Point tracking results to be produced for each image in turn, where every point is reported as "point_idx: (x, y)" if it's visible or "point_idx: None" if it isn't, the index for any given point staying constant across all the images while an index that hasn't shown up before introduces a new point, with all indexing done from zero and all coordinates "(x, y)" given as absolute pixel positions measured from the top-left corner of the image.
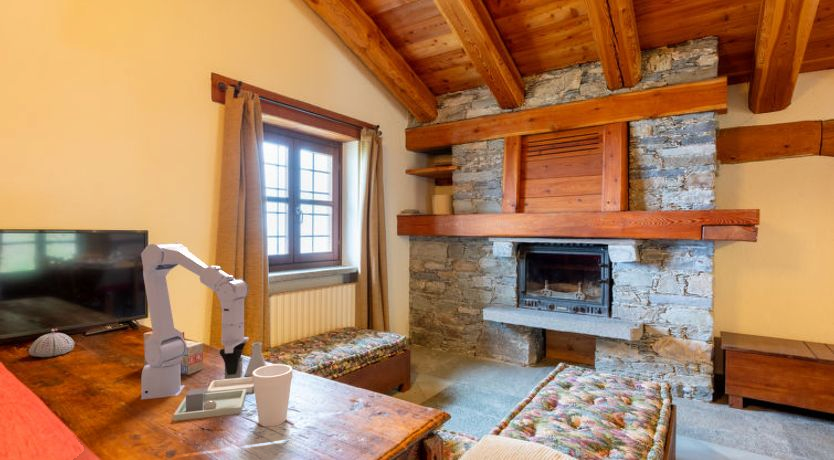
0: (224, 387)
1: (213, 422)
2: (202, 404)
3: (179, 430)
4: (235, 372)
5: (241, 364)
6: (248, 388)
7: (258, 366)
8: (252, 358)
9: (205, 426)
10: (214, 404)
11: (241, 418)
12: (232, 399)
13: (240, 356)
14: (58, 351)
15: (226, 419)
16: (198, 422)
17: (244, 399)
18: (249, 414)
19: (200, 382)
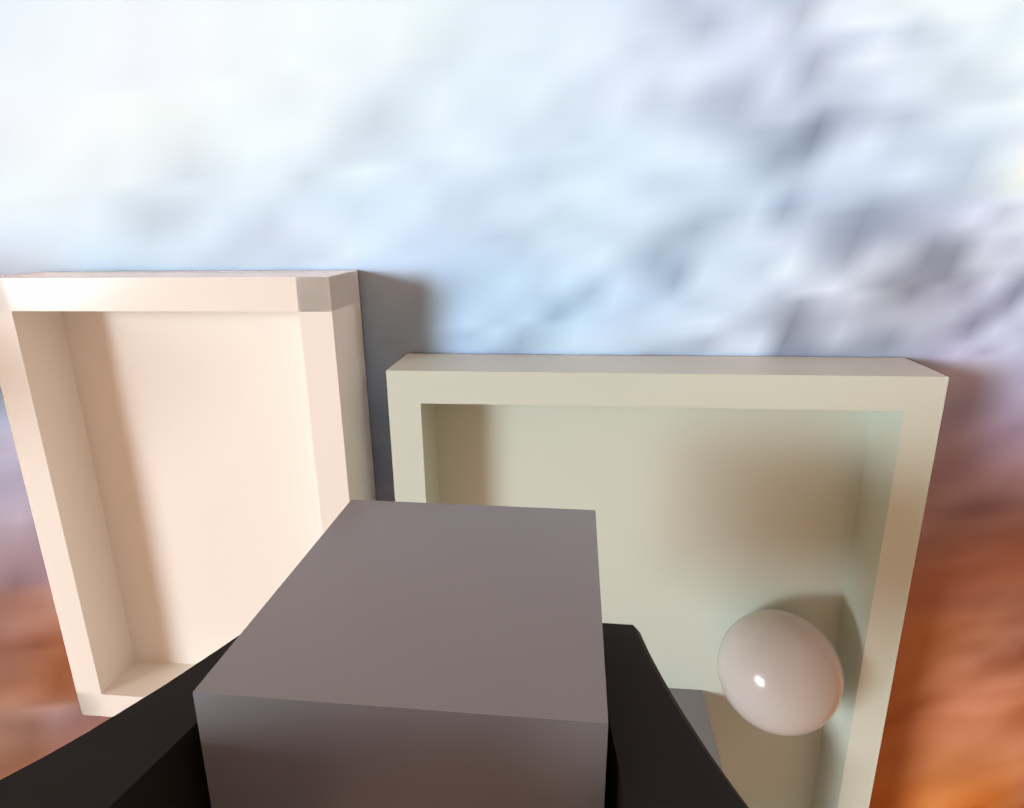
0: (183, 579)
1: (964, 576)
2: (711, 736)
3: (995, 788)
4: (644, 649)
5: (416, 615)
6: (341, 349)
7: None
8: None
9: (1020, 627)
10: (820, 649)
11: (999, 342)
12: (515, 479)
13: (168, 755)
14: None
15: (950, 478)
16: (901, 685)
17: (589, 362)
18: (931, 270)
19: (15, 760)
